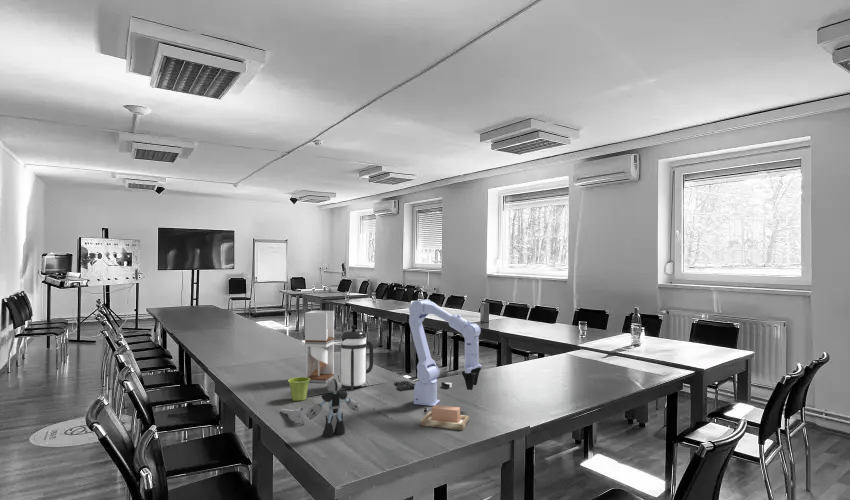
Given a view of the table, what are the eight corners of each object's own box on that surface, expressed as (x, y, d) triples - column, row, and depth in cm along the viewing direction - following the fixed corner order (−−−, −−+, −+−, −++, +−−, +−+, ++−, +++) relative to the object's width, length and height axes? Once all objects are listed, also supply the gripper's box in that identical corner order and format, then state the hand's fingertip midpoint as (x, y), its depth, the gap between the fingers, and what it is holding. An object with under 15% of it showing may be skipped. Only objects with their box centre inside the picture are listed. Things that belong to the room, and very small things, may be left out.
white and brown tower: (304, 381, 235) (305, 312, 236) (313, 376, 245) (313, 310, 246) (326, 382, 233) (326, 313, 234) (333, 377, 243) (334, 310, 244)
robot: (308, 441, 156) (308, 381, 156) (304, 437, 160) (304, 378, 160) (362, 431, 165) (362, 374, 166) (357, 426, 170) (357, 372, 170)
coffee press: (368, 390, 218) (368, 326, 219) (335, 390, 218) (335, 326, 219) (373, 381, 235) (373, 322, 236) (342, 381, 236) (342, 322, 236)
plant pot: (283, 401, 202) (283, 381, 202) (297, 395, 211) (297, 376, 211) (301, 403, 198) (301, 383, 199) (314, 397, 207) (314, 378, 207)
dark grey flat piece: (454, 390, 223) (454, 383, 223) (407, 394, 212) (408, 386, 212) (434, 382, 241) (434, 375, 241) (390, 385, 229) (390, 378, 229)
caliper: (304, 425, 172) (304, 408, 172) (301, 426, 171) (301, 408, 172) (283, 411, 188) (283, 395, 188) (280, 412, 188) (280, 396, 188)
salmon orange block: (431, 421, 173) (431, 407, 173) (434, 418, 177) (434, 404, 177) (457, 424, 170) (457, 410, 170) (460, 420, 174) (460, 407, 174)
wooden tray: (420, 425, 171) (420, 419, 171) (429, 416, 181) (429, 411, 181) (462, 430, 166) (462, 424, 166) (469, 421, 175) (469, 415, 176)
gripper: (477, 357, 181) (477, 392, 181) (484, 351, 195) (485, 383, 194) (460, 356, 183) (460, 391, 183) (468, 350, 197) (468, 382, 197)
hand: (471, 387), depth 189 cm, fingers open, 7 cm apart
